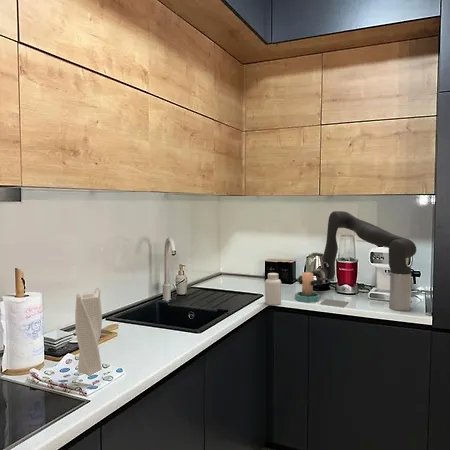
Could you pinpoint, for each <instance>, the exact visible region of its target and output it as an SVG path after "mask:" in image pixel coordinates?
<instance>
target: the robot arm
mask: <svg viewBox="0 0 450 450" xmlns="http://www.w3.org/2000/svg"><path fill="white" fill-rule="evenodd" d="M339 229H347V230H349V231H352V232H354V233H355V234H356V236H357V237H358V238H360V239H361V240H363V241H364V242H367V243H369V244H371V245H375V246H380V247H384V248H388V267H389V271H390V273H389V276H390V277H389V298H388V299H389V309H390V310H391V309H392V310H394V311H403V312H405V311H407V312H408V311H410V310H411V308H412V288H411V287H412V267H411V266H409V265H407V259H409V258H412V257H414V256H415V254H416V253H417V246H416V244H415V243H414V241H412V240H411V239H409V238H406V237H403V236H400V235H397V234H394V233H391V232H390V231H387V230H385V229H383V228H381V227H379V226H377V225H374V224H373V223H370V222H367V221H365V220H363V219H359V218H357V217H356V216H354V215H352V214H351V213H349V212H347V211H343V210H342V211H341V210H340V211H339V210H335V211H332V212H331V213H330V214H329V217H328V221H327V230H326V231H327V233H326V242H325V247H324V251H323V255H322V261H323V262H324V263H326V264H327V266H328V267H325V268H321V266H319V267H318V266H317V267H318V268H317V267H316V269H314V270H312V271H310V272H311V273H313V281H311V286H313V287H314V286H318V285H320V286H321V285H324V284H325V283H326V280H333V279H334V278H335V276H336V259H337V256H338V255H337V254H338V252H339V249H338V248H339V246H338V241H337V233H338V230H339ZM297 282H298V284H299V285H302V275H299V276H298V281H297Z"/></svg>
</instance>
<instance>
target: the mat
mask: <svg viewBox="0 0 450 450" xmlns="http://www.w3.org/2000/svg"><path fill="white" fill-rule="evenodd" d="M349 303H350V301H345V300H336V299H329V298H326V299H324V300H323V301H321V302H320V303H319V305H323V306H331V307H336V308H337V307H338V308H345V307H346V306H347V305H348V304H349Z"/></svg>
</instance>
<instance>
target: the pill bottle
mask: <svg viewBox="0 0 450 450" xmlns="http://www.w3.org/2000/svg"><path fill="white" fill-rule="evenodd" d="M264 292H265V293H264V303H265V305H269V306H278V305H281V304H282V281H281V279H279V273H277V272H269V273H267V279H265V280H264Z"/></svg>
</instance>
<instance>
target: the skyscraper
mask: <svg viewBox="0 0 450 450" xmlns="http://www.w3.org/2000/svg"><path fill="white" fill-rule="evenodd" d="M97 291H98V295H97ZM102 312H103V311H102V301H101V289H100V288H99V287H95V289H94V292H89V291H88V292H83V293H82V294H81V295H80V294H79V293H77V294H76V300H75V311H74V313H75V315H74V316H75V317H74V318H75V321H74V323H75V334H76V340H77V345H78V348H79V354H78V365H77V373H78V372H80V373H83V374H86V375H88V376H91V375H92V374H94V373H96V372H98V371H100V370H102V371H103V369H102V362H101V356H100V349H99V344H100V339H101V334H102V333H101V332H102V327H103V326H102V325H103V313H102Z"/></svg>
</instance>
